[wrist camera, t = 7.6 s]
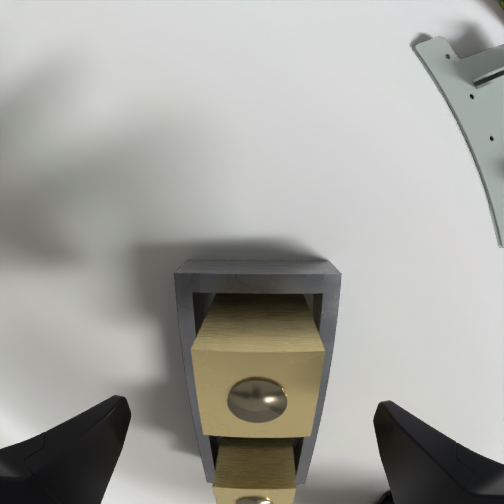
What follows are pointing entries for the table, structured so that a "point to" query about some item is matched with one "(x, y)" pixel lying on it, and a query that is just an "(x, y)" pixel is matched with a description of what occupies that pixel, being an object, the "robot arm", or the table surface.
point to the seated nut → (255, 471)
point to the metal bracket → (474, 110)
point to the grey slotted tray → (258, 282)
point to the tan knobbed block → (258, 366)
